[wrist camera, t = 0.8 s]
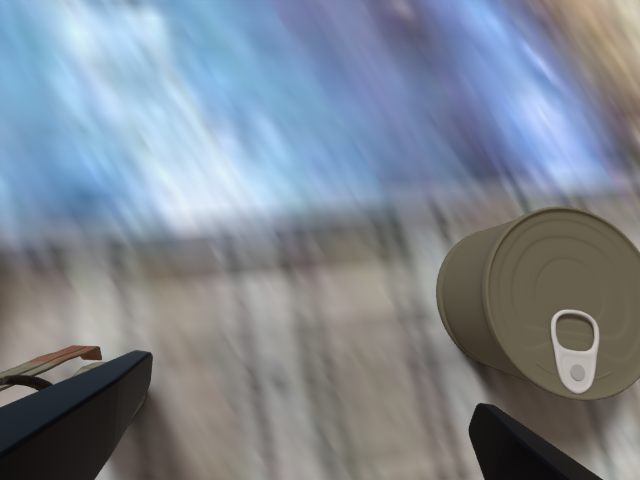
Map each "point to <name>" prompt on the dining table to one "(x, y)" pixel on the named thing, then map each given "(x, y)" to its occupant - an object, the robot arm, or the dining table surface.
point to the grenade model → (44, 363)
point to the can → (548, 302)
